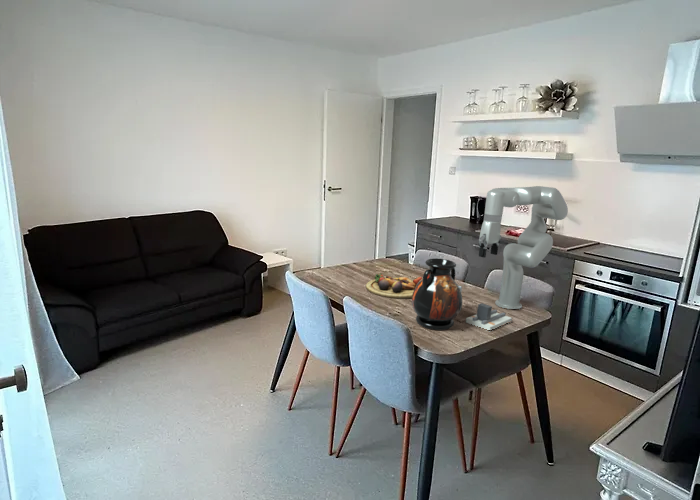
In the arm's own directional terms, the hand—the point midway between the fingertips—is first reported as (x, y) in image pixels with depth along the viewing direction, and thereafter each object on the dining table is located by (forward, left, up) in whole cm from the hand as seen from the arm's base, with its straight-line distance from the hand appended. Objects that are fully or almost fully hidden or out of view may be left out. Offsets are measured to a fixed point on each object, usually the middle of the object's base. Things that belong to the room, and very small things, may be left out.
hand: (487, 255), depth 195 cm
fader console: (+6, +8, -28) cm, 30 cm away
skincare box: (+8, -10, -28) cm, 31 cm away
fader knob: (+11, +8, -26) cm, 29 cm away
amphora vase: (+28, -5, -28) cm, 40 cm away
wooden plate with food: (+8, -48, -29) cm, 56 cm away
